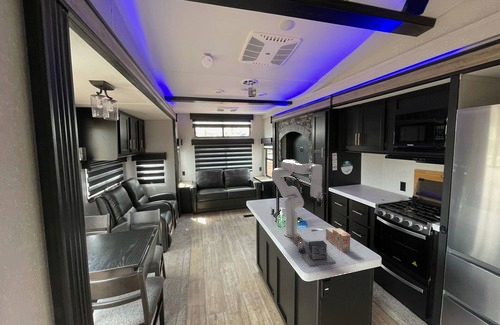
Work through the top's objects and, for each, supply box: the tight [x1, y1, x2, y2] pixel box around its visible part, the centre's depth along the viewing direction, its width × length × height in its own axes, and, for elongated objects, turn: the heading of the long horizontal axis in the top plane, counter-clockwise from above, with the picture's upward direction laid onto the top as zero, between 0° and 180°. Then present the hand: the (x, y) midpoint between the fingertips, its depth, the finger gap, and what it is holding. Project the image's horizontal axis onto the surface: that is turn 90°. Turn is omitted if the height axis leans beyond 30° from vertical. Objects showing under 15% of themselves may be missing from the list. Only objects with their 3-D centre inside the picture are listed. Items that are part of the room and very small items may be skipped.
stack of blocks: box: [325, 227, 351, 253], centre depth 165 cm, size 21×6×12 cm, turn 13°
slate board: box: [301, 253, 336, 267], centre depth 146 cm, size 13×18×1 cm
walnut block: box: [293, 236, 304, 247], centre depth 168 cm, size 5×5×5 cm
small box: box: [308, 240, 328, 260], centre depth 146 cm, size 11×6×10 cm, turn 95°
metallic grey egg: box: [297, 240, 307, 254], centre depth 157 cm, size 5×5×7 cm
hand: (316, 204), depth 160 cm, fingers open, 9 cm apart
